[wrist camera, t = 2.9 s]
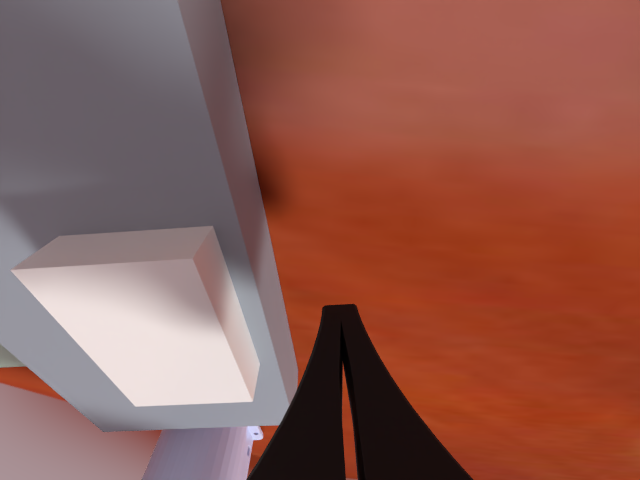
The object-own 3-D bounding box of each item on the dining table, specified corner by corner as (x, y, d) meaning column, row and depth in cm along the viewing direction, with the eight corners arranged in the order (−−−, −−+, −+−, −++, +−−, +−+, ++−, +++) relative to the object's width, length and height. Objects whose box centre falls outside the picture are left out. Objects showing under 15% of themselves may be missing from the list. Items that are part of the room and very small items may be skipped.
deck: (298, 370, 23) (294, 424, 19) (133, 378, 23) (103, 431, 20) (215, -25, 9) (158, -69, 6) (-166, 14, 10) (-411, -7, 7)
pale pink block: (260, 364, 15) (252, 401, 14) (154, 369, 16) (135, 406, 14) (212, 225, 10) (192, 258, 9) (58, 236, 11) (9, 269, 9)
